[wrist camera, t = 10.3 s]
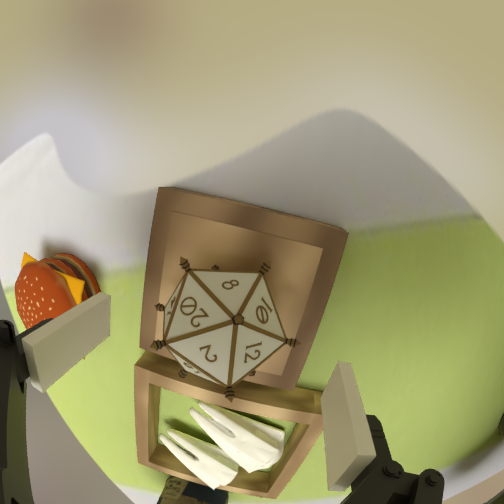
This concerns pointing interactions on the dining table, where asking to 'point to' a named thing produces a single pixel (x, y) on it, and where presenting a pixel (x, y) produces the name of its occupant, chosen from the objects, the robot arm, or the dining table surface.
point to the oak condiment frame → (246, 400)
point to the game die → (221, 324)
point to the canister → (190, 493)
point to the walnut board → (244, 266)
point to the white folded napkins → (226, 445)
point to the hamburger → (52, 287)
